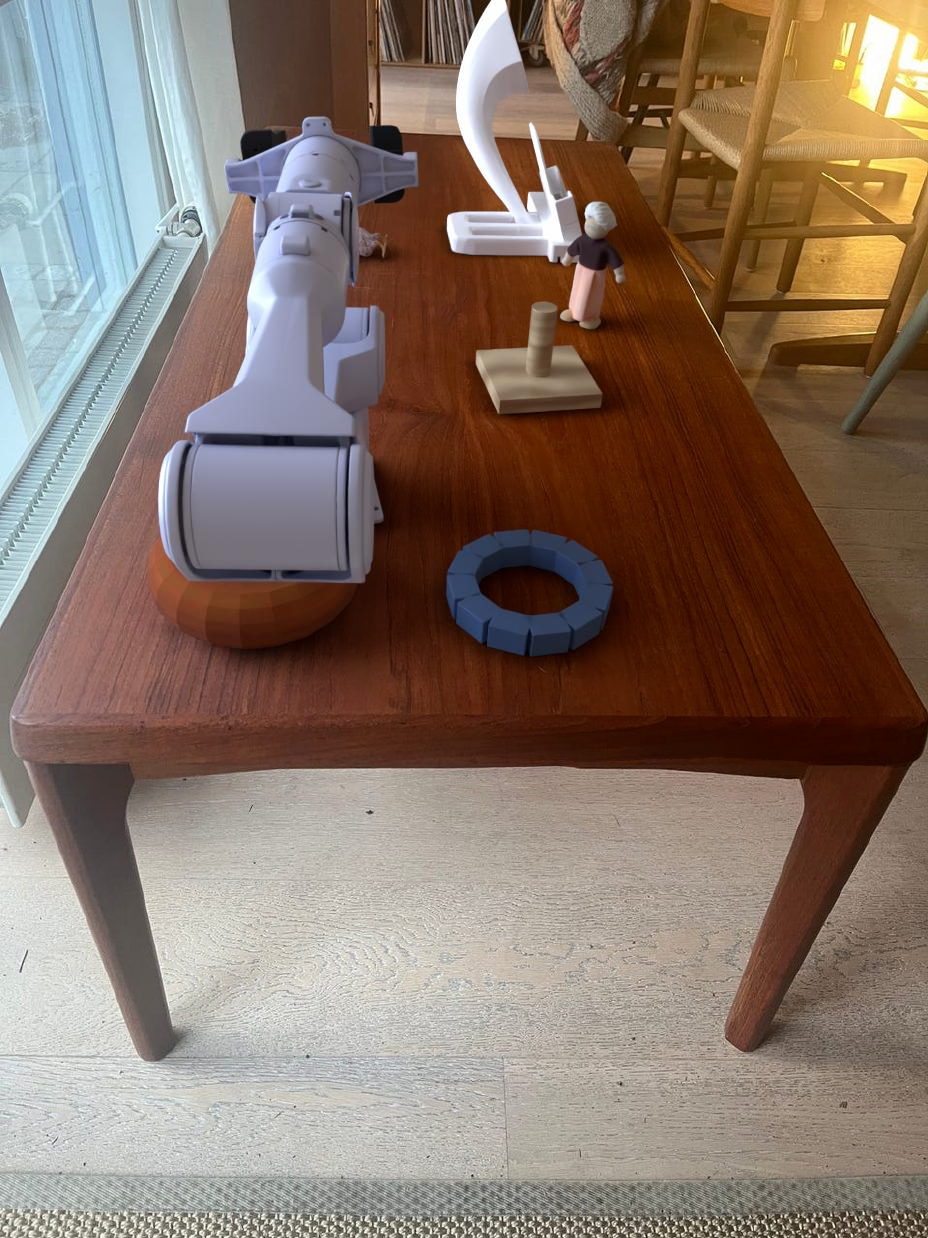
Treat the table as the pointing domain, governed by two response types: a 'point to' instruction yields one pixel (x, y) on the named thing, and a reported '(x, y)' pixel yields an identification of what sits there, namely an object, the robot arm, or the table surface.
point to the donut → (243, 606)
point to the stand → (538, 371)
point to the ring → (521, 629)
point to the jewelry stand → (480, 88)
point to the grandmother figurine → (592, 266)
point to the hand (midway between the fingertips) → (329, 141)
